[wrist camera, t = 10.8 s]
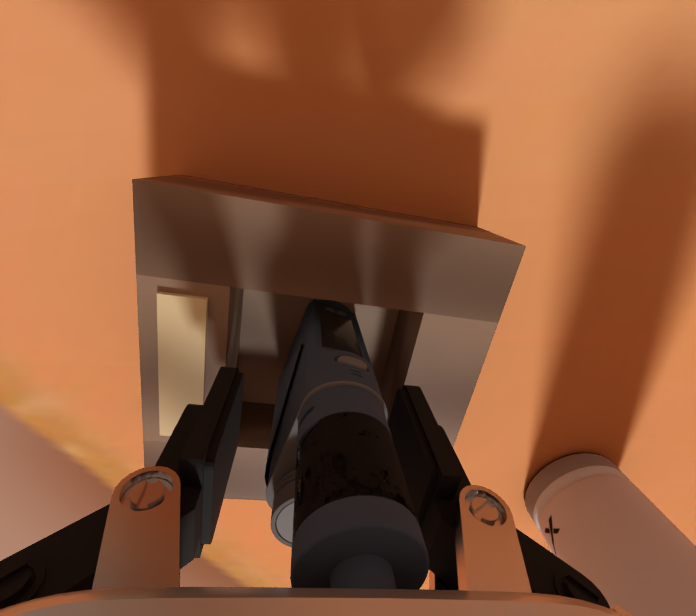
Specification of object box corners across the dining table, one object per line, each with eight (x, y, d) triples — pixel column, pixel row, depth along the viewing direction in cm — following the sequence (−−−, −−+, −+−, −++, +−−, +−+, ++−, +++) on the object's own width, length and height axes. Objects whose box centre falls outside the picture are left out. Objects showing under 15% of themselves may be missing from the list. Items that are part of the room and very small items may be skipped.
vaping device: (365, 305, 16) (489, 600, 5) (323, 398, 18) (348, 783, 6) (311, 285, 16) (316, 570, 4) (273, 383, 17) (204, 780, 6)
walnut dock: (179, 174, 14) (129, 179, 10) (477, 227, 16) (529, 247, 12) (178, 430, 19) (143, 498, 15) (410, 447, 21) (431, 512, 17)
